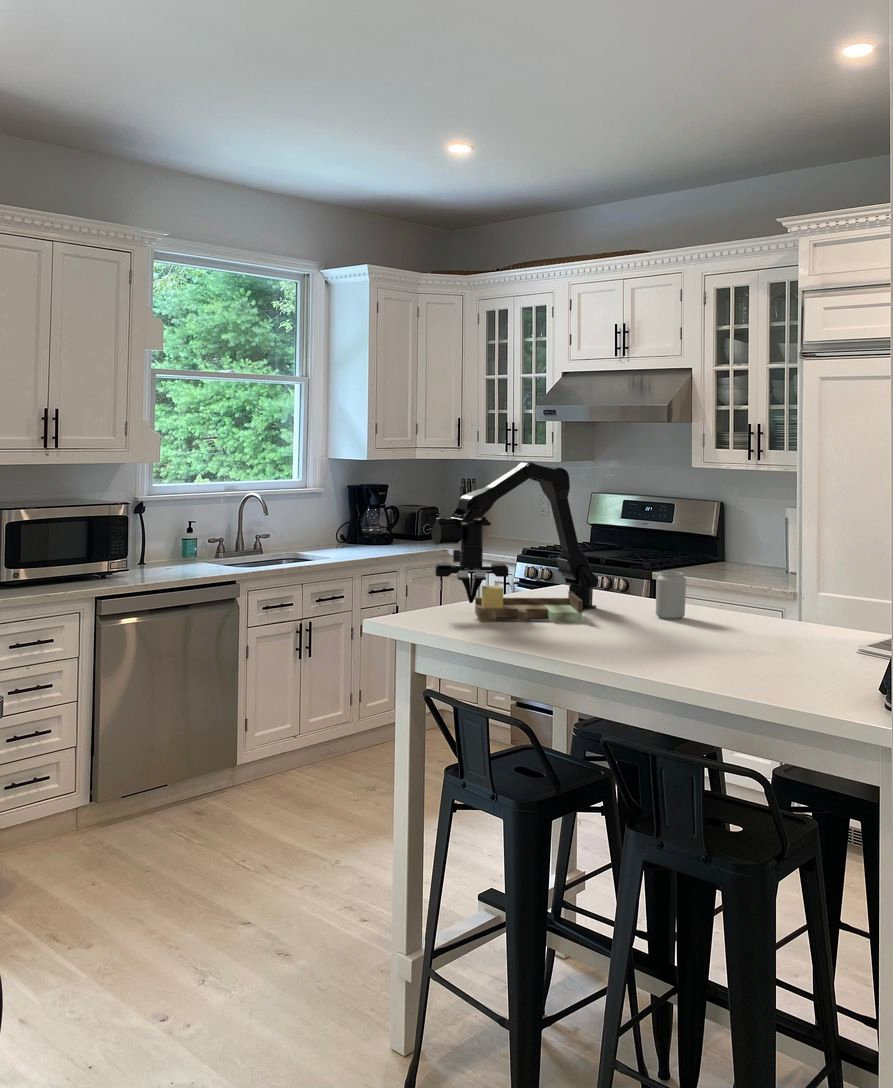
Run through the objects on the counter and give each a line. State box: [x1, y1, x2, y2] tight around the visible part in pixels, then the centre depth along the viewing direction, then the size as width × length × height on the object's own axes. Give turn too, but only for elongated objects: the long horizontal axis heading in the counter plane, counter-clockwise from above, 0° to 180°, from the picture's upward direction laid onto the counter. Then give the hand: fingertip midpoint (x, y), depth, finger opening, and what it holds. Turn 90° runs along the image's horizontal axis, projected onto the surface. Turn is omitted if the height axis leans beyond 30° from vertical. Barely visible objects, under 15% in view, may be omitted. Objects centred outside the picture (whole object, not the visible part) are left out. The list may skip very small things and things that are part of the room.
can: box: [655, 571, 687, 621], centre depth 256 cm, size 8×8×12 cm
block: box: [481, 585, 504, 608], centre depth 255 cm, size 5×5×5 cm
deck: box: [474, 593, 583, 623], centre depth 254 cm, size 26×13×6 cm, turn 94°
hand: (470, 602), depth 255 cm, fingers closed
